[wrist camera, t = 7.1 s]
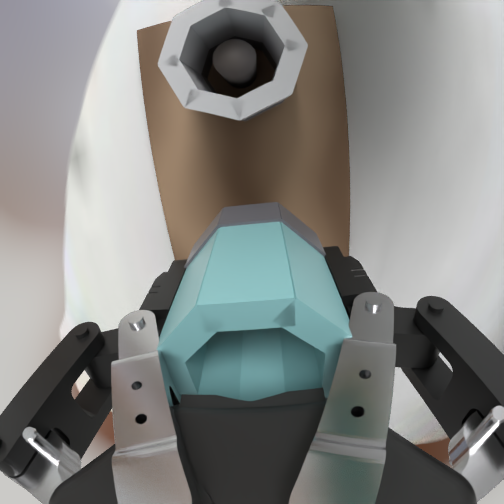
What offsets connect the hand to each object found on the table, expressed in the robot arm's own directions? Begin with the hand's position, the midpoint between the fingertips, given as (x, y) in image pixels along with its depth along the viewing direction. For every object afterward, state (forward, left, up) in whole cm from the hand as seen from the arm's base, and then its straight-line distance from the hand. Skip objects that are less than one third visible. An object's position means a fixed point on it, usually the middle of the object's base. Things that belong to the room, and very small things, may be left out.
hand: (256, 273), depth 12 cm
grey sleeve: (0, -9, -7) cm, 11 cm away
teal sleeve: (0, 0, -1) cm, 1 cm away
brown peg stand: (0, -5, -8) cm, 10 cm away
